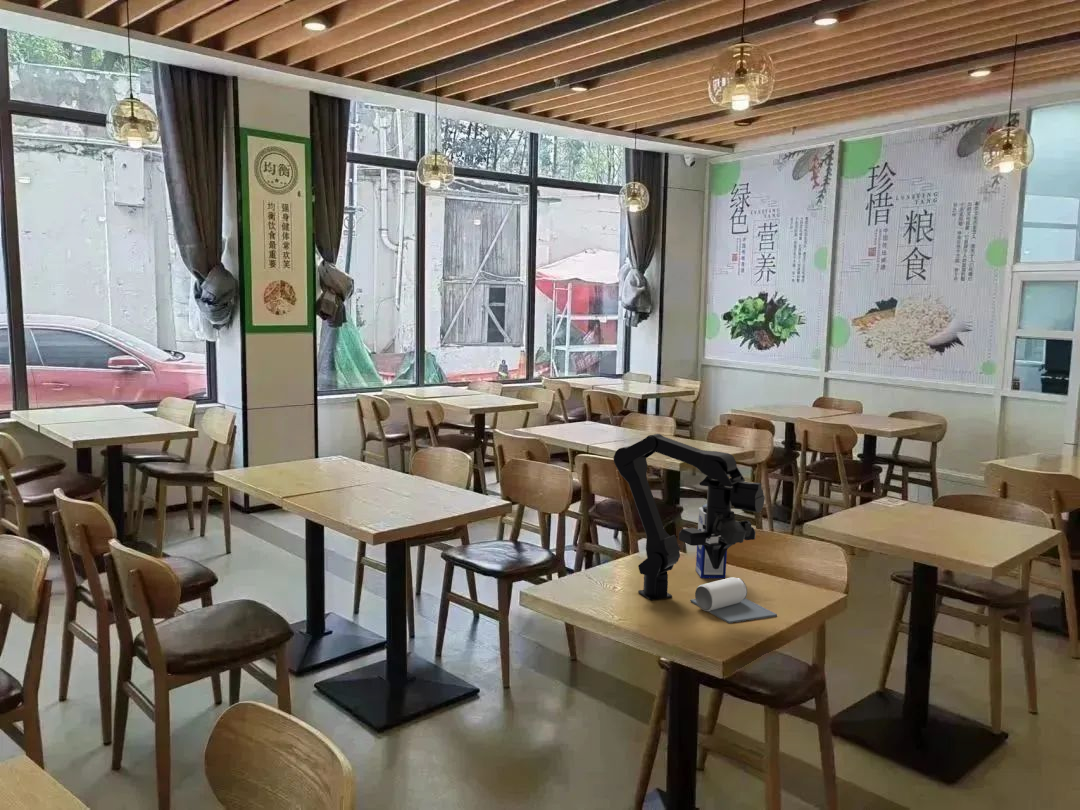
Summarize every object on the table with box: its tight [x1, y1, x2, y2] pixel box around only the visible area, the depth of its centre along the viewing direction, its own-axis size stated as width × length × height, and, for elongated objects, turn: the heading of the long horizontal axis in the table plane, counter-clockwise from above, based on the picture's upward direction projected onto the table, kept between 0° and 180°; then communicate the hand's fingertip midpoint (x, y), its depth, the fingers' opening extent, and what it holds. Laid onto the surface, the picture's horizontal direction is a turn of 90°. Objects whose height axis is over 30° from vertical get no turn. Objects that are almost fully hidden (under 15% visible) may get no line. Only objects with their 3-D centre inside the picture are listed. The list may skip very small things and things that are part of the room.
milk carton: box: [695, 503, 728, 579], centre depth 239 cm, size 7×7×20 cm
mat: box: [689, 597, 778, 624], centre depth 213 cm, size 16×14×1 cm
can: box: [694, 576, 748, 612], centre depth 213 cm, size 6×6×12 cm
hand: (715, 568), depth 210 cm, fingers closed
